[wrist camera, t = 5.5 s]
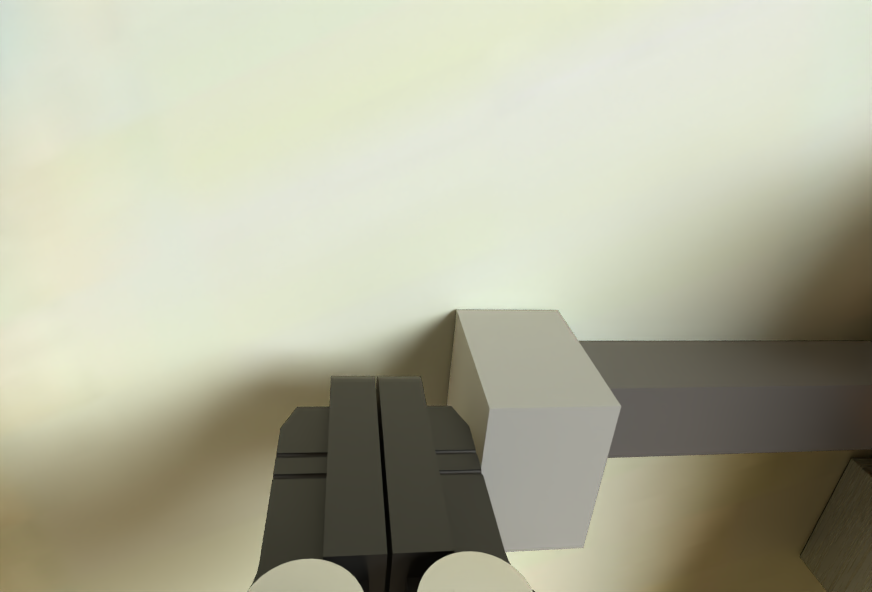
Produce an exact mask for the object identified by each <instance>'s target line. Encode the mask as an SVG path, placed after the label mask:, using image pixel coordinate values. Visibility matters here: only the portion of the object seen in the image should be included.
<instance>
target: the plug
mask: <svg viewBox="0 0 872 592" xmlns="http://www.w3.org/2000/svg"><path fill="white" fill-rule="evenodd" d="M447 406H452V407H453V408H454V410H455V411H456V412H457V413H458V414H459V415H460V416H461V417H462V418H463V420H464V421H465V422H466V423H467V424H468V425H469V427H470V431H471V434H472V438H473V441H474V445H475V448H476V454H477V455H478V459H479V462H480V466H481V469H482V470H481V473H482V474H483V476H484V480H485V483H486V487H487V490H488V494H489V497H490V501H491V504H492V508H493V511H494V515H495V518H496V522H497V525H498V529H499V532H500V536H501V539H502V543H503V546H504V550H505V552H514V551H532V550H549V549H567V548H583V546H584V543H585V539H586V535H587V532H588V528H589V524H590V520H591V517H592V513H593V509H594V506H595V502H596V498H597V494H598V491H599V487H600V483H601V480H602V476H603V472H604V468H605V465H606V461H607V458H615V457H646V456H677V455H708V454H740V453H771V452H802V451H833V450H864V449H872V341H578V340H577V338H576V337H575V335H574V334H573V332H572V330H571V329H570V327H569V326H568V324H567V323H566V321H565V320H564V318H563V317H562V315H561V314H560V312H559V311H558V310H457V311H456V321H455V330H454V340H453V350H452V359H451V369H450V378H449V388H448V398H447Z"/></svg>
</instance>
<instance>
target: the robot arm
mask: <svg viewBox="0 0 872 592" xmlns="http://www.w3.org/2000/svg"><path fill="white" fill-rule="evenodd" d="M481 470H482V469H481V466H480V462H479V459H478V455H477V454H476V448H475V445H474V441H473V438H472V434H471V431H470V427H469V425H468V424H467V423H466V422H465V421H464V420H463V418H462V417H461V416H460V415H459V414H458V413H457V412H456V411H455V410H454V408H453V407H452V406H427V405H426V400H425V395H424V390H423V385H422V380H421V377H420V376H377V381H376V387H375V377H374V376H331V388H330V407H297V408H296V409H295V410H294V412H293V413H292V414H291V416H290V417H289V418H288V419H287V421H286V422H285V423H284V424H283V426H282V427H281V429H280V435H279V441H278V448H277V457H276V460H275V467H274V473H273V480H272V486H271V492H270V499H269V505H268V511H267V518H266V524H265V530H264V537H263V543H262V549H261V556H260V562H259V567H258V571H257V574H256V577H255V579H254V581H253V583H252V585H251V587H250V588H249V590H248V591H247V592H535V591H534V590H532V589H531V587H530V585H529V584H528V582H527V581H526V579H525V578H524V577H523V576H522V575H521V574H520V573H519V572H518V571H517V570H516V569H515V568H514V567H513V566H511V564H510V563H509V561H508V558H507V556H506V553H505V550H504V546H503V543H502V539H501V536H500V532H499V529H498V525H497V522H496V518H495V515H494V511H493V508H492V504H491V501H490V497H489V494H488V490H487V487H486V483H485V480H484V476H483V474H482V473H481Z"/></svg>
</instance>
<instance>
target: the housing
mask: <svg viewBox="0 0 872 592" xmlns="http://www.w3.org/2000/svg"><path fill="white" fill-rule="evenodd" d="M800 558H801V559H802V561H803V562H804V563H805V564H806V566H807V567H808V568H809V569H810V571H811V572H812V573H813V574H814V576H815V577H816V578H817V579H818V581H819V582H820V583H821V584H822V586H823V587H824V588H825V589H826V591H827V592H872V458H854V459H851V460H850V462H849V464H848V466H847V468H846V470H845V472H844V474H843V475H842V477H841V479H840V481H839V483H838V485H837V487H836V489H835V491H834V493H833V495H832V497H831V498H830V500H829V502H828V504H827V506H826V508H825V510H824V512H823V514H822V516H821V518H820V520H819V521H818V523H817V525H816V527H815V529H814V531H813V533H812V535H811V537H810V539H809V541H808V543H807V545H806V546H805V548H804V550H803V552H802V554H801V556H800Z"/></svg>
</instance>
